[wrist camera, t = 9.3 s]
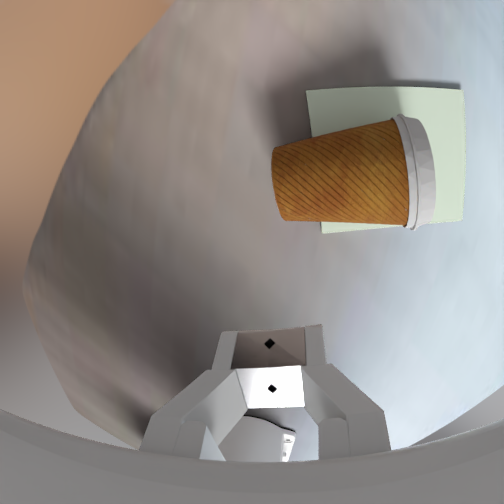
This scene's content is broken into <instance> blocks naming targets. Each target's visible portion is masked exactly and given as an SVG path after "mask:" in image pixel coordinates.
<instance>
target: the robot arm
mask: <svg viewBox="0 0 504 504" xmlns="http://www.w3.org/2000/svg"><path fill="white" fill-rule="evenodd" d="M295 406H304V408H305V409H306V411H307V412H308V413H309V415H310V416H311V417H312V419H313V420H314V421H315V423H316V424H317V425H318V435H319V449H318V460H311V461H291V462H288V459H289V456H290V453H291V450H292V447H293V444H294V440H295V436H296V433H295V432H293V431H290V430H286V429H282V428H280V427H278V426H276V425H274V424H272V423H270V422H268V421H265V420H262V419H259V418H254V417H248V416H243V415H244V414H245V412H246V411H247V410H248V409H247V408H266V407H295ZM0 504H504V419H501V420H498V421H495V422H493V423H490V424H488V425H485V426H482V427H479V428H476V429H473V430H470V431H467V432H464V433H461V434H457V435H454V436H450V437H447V438H443V439H440V440H436V441H432V442H428V443H424V444H419V445H415V446H411V447H406V448H401V449H396V450H391V447H390V441H389V436H388V430H387V425H386V420H385V415H384V411H383V410H382V409H381V408H380V407H379V406H378V405H377V404H376V403H374V402H373V401H372V400H371V399H370V398H369V397H368V396H367V395H366V394H364V393H363V392H362V391H361V390H360V389H359V388H358V387H357V386H356V385H355V384H353V383H352V382H351V381H350V380H349V379H348V378H347V377H346V376H345V375H344V374H343V373H341V372H340V371H339V370H338V369H337V368H336V367H335V366H334V365H333V364H327V362H326V353H325V343H324V335H323V326H322V325H321V324H320V325H311V326H305V327H294V328H282V329H268V330H241V331H223V332H222V333H221V335H220V338H219V342H218V346H217V350H216V353H215V357H214V361H213V365H212V369H211V370H206V371H205V372H203V373H202V374H201V375H200V376H199V377H198V378H196V379H195V380H194V381H193V382H192V383H191V384H189V385H188V386H187V387H186V388H185V389H183V390H182V391H181V392H180V393H179V394H177V395H176V396H175V397H174V398H173V399H171V400H170V401H169V402H168V403H166V404H165V405H164V406H163V407H162V408H160V409H159V410H158V411H157V412H155V413H154V414H153V415H152V416H151V418H150V421H149V424H148V427H147V429H146V432H145V435H144V437H143V440H142V443H141V446H140V448H139V451H138V450H133V449H128V448H123V447H118V446H114V445H109V444H105V443H101V442H97V441H93V440H89V439H85V438H82V437H78V436H74V435H71V434H68V433H64V432H61V431H58V430H55V429H52V428H49V427H46V426H43V425H40V424H37V423H35V422H32V421H29V420H26V419H24V418H21V417H19V416H16V415H14V414H11V413H9V412H6V411H4V410H2V409H0Z"/></svg>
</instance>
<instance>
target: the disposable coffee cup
mask: <svg viewBox="0 0 504 504" xmlns="http://www.w3.org/2000/svg"><path fill="white" fill-rule="evenodd" d="M271 175H272V184H273V192H274V196H275V200H276V204H277V208H278V210H279V212H280V214H281V216H282V218H283V219H284V220H285V221H316V222H344V223H367V224H385V225H386V224H388V225H403V227H405V228H410V229H411V230H416V229H417V228H418V226H421V225H424V224H427V223H430V222H431V220H432V218H433V215H434V210H435V202H436V180H435V168H434V161H433V155H432V150H431V146H430V143H429V139H428V136H427V133H426V131H425V128H424V126H423V125H422V123H421V122H420V120H418V119H416V118H411V117H405V116H404V115H403V114H398V115H397V116H396V117H391V118H390V120H386V121H381V122H377V123H372V124H367V125H363V126H358V127H354V128H349V129H345V130H341V131H336V132H332V133H328V134H324V135H320V136H316V137H313V138H308V139H305V140H301V141H297V142H294V143H290V144H286V145H283V146H279V147H275V148H274V150H273V152H272V158H271Z"/></svg>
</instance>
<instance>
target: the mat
mask: <svg viewBox="0 0 504 504" xmlns="http://www.w3.org/2000/svg"><path fill="white" fill-rule="evenodd" d="M306 97H307V104H308V111H309V118H310V125H311V133H312V138H313V137H316V136H320V135H324V134H328V133H332V132H336V131H341V130H345V129H349V128H354V127H358V126H363V125H367V124H372V123H377V122H381V121H386V120H390V118H391V117H396V116H397V115H398V114H403V115H404V116H405V117H411V118H416V119H418V120H420V122H421V123H422V125H423V126H424V128H425V131H426V133H427V136H428V139H429V143H430V146H431V150H432V155H433V161H434V168H435V180H436V202H435V210H434V215H433V218H432V220H431V222H430V223H442V222H453V221H462V216H463V205H464V191H465V170H466V126H465V106H464V92H463V90H457V89H445V88H428V87H349V88H332V89H318V90H307V91H306ZM430 223H427V224H430ZM397 226H403V225H388V224H386V225H385V224H367V223H344V222H321V231H322V234H324V233H334V232H344V231H355V230H365V229H376V228H386V227H397Z"/></svg>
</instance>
